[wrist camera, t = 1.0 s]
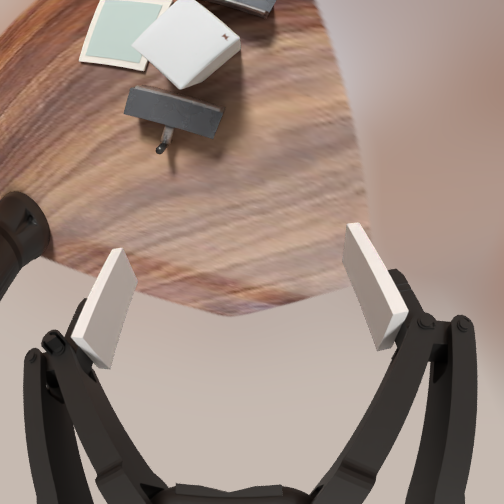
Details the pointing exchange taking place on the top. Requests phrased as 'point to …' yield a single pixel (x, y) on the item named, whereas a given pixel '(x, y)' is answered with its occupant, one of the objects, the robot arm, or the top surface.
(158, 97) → the vise
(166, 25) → the supplement box
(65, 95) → the top surface
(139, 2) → the plate
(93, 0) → the top surface
